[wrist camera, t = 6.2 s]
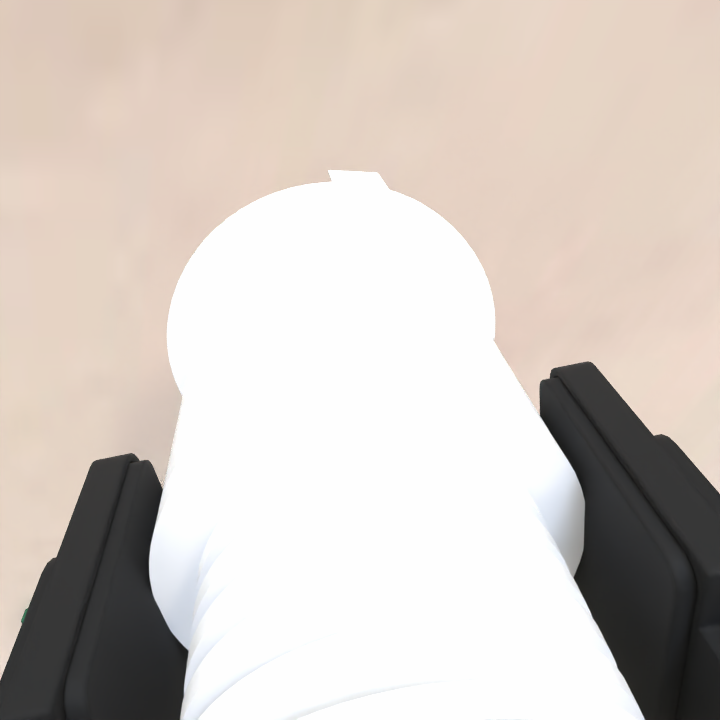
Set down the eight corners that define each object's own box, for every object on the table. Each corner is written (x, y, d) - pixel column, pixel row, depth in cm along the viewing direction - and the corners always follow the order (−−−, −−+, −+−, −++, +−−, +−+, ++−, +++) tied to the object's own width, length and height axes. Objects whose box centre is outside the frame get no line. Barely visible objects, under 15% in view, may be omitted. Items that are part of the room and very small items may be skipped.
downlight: (459, 474, 17) (656, 990, 8) (181, 479, 16) (74, 1073, 7) (522, 162, 13) (1032, 528, 4) (155, 142, 12) (-153, 568, 3)
